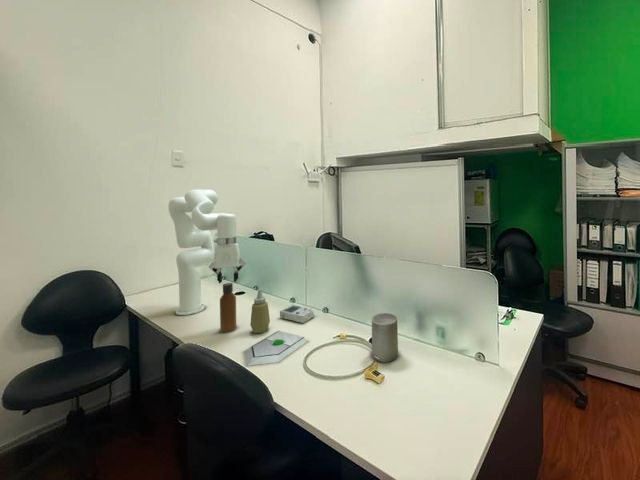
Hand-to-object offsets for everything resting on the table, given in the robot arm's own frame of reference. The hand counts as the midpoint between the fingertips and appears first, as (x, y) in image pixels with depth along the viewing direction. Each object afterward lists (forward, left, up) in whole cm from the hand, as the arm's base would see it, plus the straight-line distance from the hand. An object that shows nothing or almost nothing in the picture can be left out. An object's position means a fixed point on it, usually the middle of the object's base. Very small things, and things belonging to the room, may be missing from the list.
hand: (227, 281), depth 133 cm
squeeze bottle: (+6, +14, -22) cm, 27 cm away
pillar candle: (+42, +61, -22) cm, 77 cm away
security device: (+25, +20, -22) cm, 39 cm away
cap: (0, 0, -5) cm, 5 cm away
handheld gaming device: (-3, +30, -22) cm, 37 cm away
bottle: (0, 0, -22) cm, 22 cm away
